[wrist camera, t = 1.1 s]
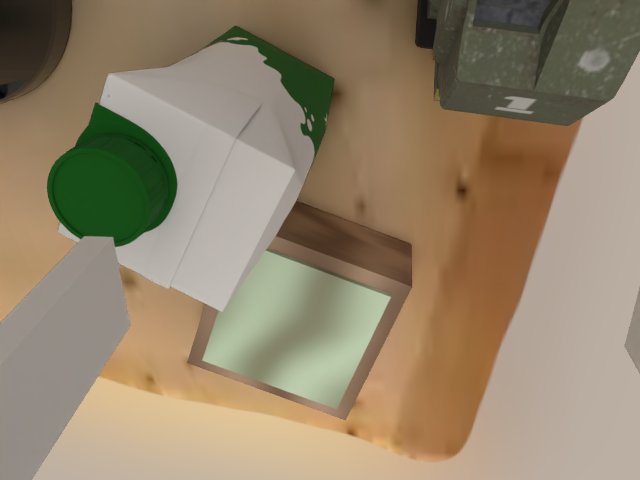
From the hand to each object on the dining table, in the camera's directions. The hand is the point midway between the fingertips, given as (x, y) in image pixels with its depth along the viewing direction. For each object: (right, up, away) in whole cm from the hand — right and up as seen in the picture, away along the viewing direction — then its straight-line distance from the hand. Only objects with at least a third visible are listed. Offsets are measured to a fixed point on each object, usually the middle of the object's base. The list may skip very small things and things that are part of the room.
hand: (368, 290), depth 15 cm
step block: (-2, -2, +31) cm, 31 cm away
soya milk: (-5, +11, +25) cm, 28 cm away
